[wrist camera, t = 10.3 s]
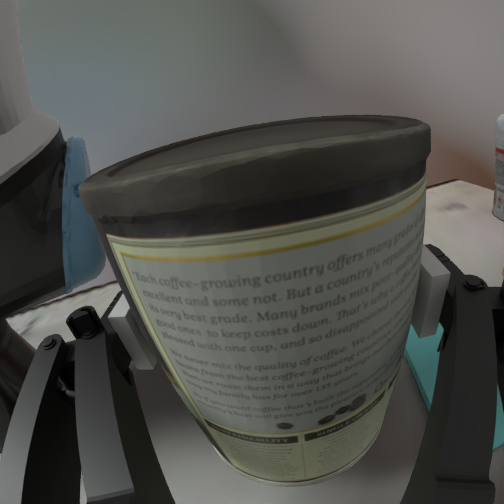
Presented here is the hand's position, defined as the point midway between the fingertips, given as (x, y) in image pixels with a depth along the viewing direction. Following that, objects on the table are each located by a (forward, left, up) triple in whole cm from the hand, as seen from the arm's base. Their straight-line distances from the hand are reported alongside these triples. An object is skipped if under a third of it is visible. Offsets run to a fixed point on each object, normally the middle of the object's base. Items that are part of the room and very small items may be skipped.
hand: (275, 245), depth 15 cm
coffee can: (+4, -2, -8) cm, 9 cm away
